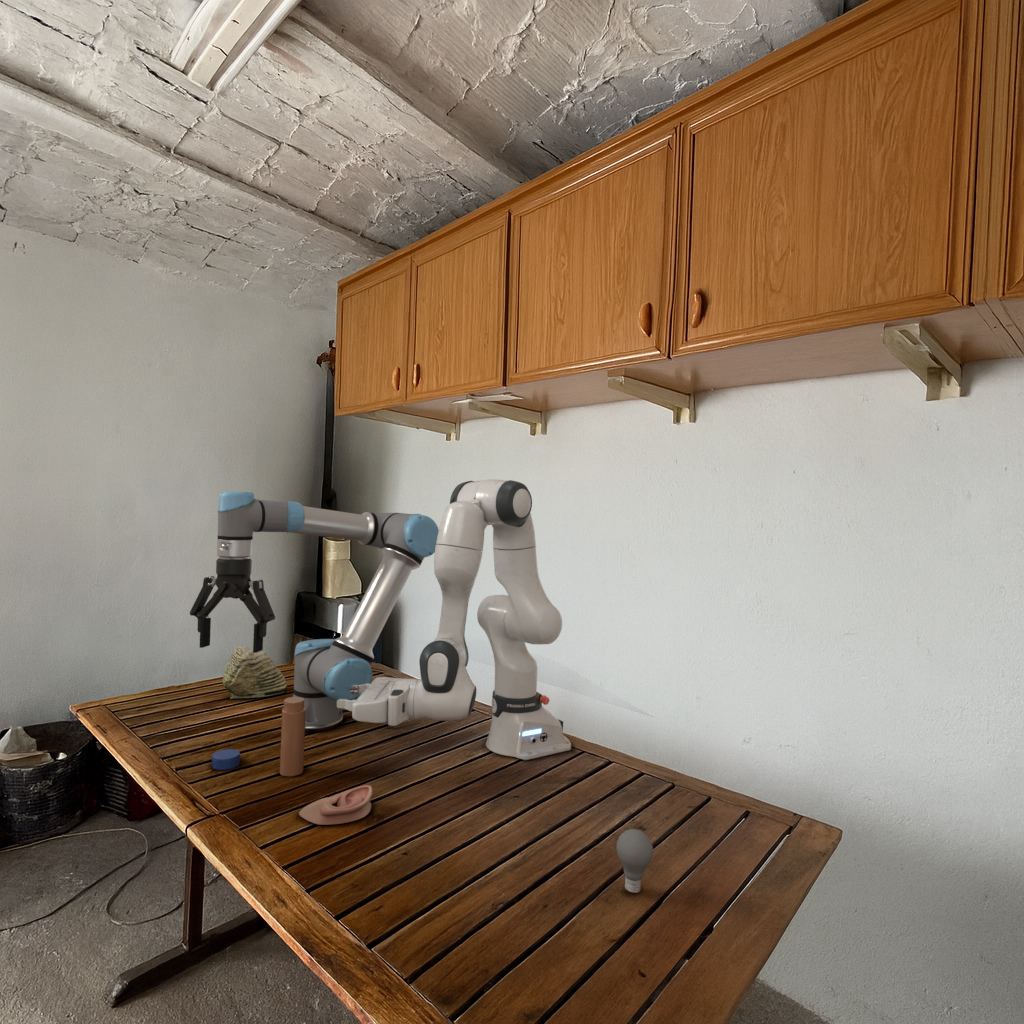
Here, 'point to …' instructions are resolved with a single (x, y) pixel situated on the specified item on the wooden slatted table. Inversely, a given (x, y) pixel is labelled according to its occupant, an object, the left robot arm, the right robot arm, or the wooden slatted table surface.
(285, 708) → the jar
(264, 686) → the fossil
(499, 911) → the wooden slatted table surface
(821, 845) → the wooden slatted table surface
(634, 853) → the light bulb
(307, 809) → the anatomical model
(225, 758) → the lid
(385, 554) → the left robot arm
